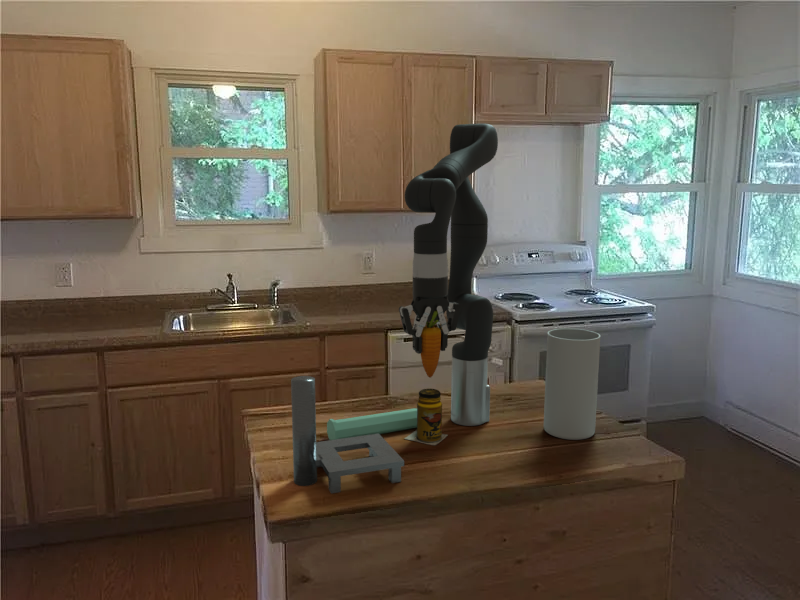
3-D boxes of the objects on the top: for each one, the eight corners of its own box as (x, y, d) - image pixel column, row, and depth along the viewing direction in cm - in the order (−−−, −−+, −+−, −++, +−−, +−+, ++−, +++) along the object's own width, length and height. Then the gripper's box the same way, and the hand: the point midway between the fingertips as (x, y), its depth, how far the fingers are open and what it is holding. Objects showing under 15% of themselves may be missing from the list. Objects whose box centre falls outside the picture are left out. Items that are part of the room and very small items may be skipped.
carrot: (415, 375, 146) (415, 309, 144) (435, 373, 148) (436, 307, 145) (423, 382, 142) (424, 313, 139) (445, 379, 143) (445, 311, 141)
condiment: (435, 446, 157) (436, 397, 155) (403, 439, 161) (404, 392, 159) (448, 435, 163) (449, 389, 161) (417, 429, 167) (418, 384, 165)
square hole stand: (378, 453, 152) (378, 360, 149) (404, 482, 138) (404, 380, 134) (286, 467, 145) (283, 370, 141) (302, 499, 130) (299, 392, 126)
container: (419, 400, 171) (328, 413, 160) (430, 415, 166) (336, 430, 155) (415, 418, 174) (325, 432, 163) (425, 433, 169) (333, 449, 158)
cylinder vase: (553, 419, 174) (557, 326, 170) (600, 428, 168) (606, 332, 164) (536, 434, 164) (540, 336, 160) (586, 444, 158) (592, 342, 153)
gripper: (453, 269, 147) (452, 344, 150) (392, 273, 142) (393, 350, 145) (468, 274, 140) (467, 352, 143) (405, 278, 135) (405, 359, 138)
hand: (430, 351), depth 144 cm, fingers closed on carrot, 5 cm apart
